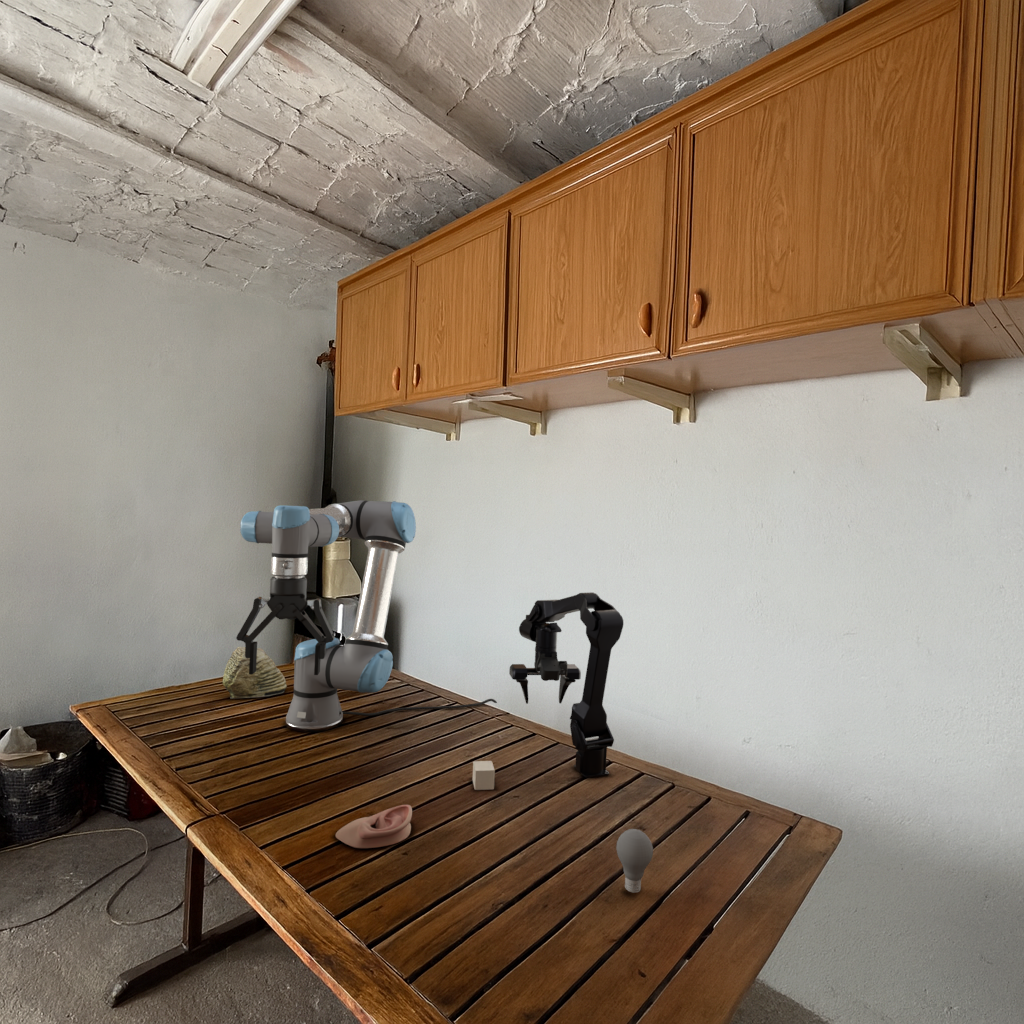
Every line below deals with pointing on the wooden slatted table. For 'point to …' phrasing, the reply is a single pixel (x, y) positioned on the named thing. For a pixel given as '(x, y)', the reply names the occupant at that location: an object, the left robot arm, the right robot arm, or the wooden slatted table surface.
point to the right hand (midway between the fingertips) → (543, 703)
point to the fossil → (252, 676)
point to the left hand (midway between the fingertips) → (285, 673)
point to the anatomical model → (378, 828)
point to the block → (483, 775)
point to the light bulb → (634, 857)
